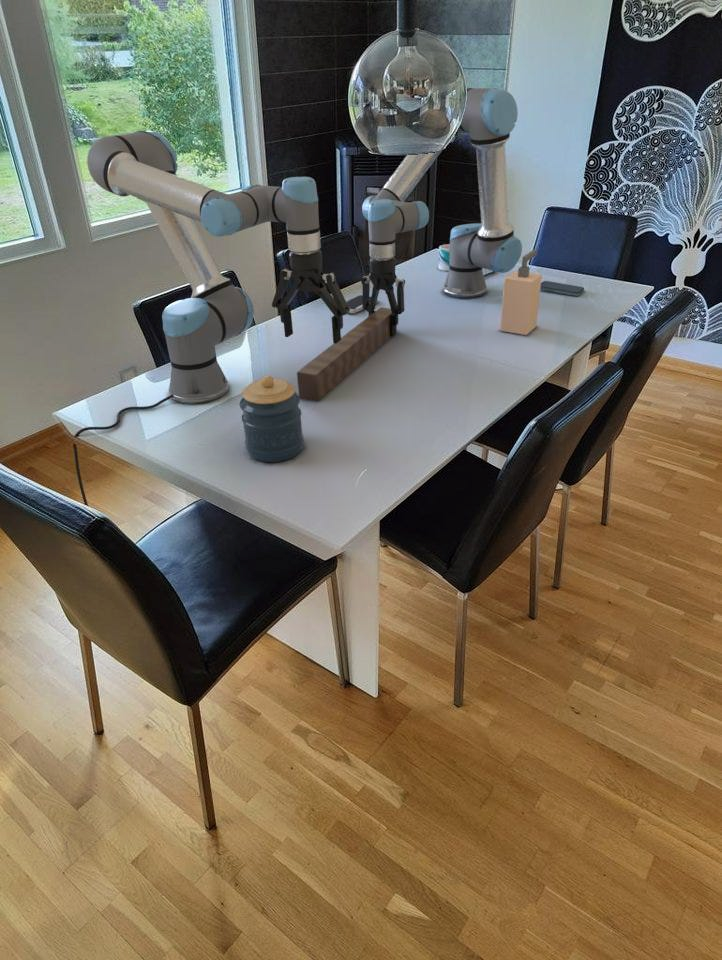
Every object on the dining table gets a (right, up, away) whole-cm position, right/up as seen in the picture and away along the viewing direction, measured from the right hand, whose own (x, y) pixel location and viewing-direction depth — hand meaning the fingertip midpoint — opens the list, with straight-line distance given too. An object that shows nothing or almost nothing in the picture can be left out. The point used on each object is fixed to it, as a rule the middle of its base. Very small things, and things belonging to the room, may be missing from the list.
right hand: (383, 333), depth 208 cm
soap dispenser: (+43, +2, +2) cm, 43 cm away
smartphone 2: (+64, +22, +30) cm, 74 cm away
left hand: (-19, -10, -41) cm, 47 cm away
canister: (-26, -38, -57) cm, 73 cm away
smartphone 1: (-8, +15, +24) cm, 29 cm away
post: (-9, -12, -16) cm, 22 cm away
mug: (+29, +40, +61) cm, 78 cm away
